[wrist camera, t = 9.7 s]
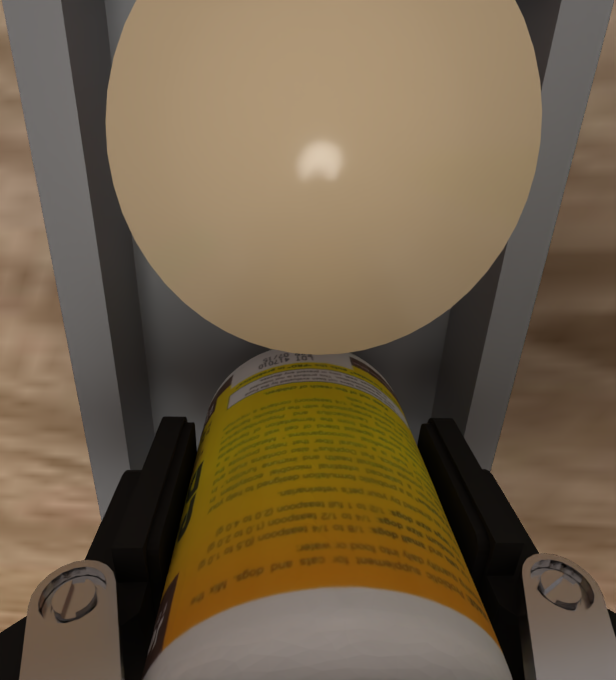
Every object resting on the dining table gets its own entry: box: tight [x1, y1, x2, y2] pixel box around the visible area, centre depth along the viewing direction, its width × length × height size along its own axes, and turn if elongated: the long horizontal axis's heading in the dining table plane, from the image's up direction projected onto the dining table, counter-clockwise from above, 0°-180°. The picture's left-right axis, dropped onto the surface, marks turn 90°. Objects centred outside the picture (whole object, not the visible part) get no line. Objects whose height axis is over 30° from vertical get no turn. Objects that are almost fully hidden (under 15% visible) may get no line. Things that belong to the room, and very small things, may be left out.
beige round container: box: [105, 0, 542, 355], centre depth 9 cm, size 6×6×6 cm
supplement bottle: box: [141, 349, 513, 680], centre depth 9 cm, size 6×6×10 cm
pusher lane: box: [2, 0, 614, 520], centre depth 12 cm, size 11×20×7 cm, turn 177°
